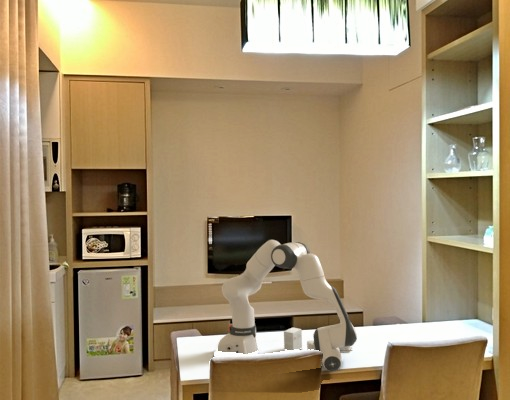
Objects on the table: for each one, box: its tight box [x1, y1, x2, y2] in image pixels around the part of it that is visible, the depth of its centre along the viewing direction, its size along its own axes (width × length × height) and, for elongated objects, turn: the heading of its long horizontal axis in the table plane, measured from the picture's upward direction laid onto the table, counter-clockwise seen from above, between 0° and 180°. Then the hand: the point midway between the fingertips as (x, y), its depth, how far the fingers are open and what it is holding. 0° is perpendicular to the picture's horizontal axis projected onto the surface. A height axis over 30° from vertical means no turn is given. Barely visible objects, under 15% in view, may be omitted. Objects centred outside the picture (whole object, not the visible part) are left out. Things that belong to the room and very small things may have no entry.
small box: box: [283, 327, 303, 350], centre depth 230 cm, size 8×6×10 cm
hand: (327, 340), depth 222 cm, fingers closed on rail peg, 4 cm apart
